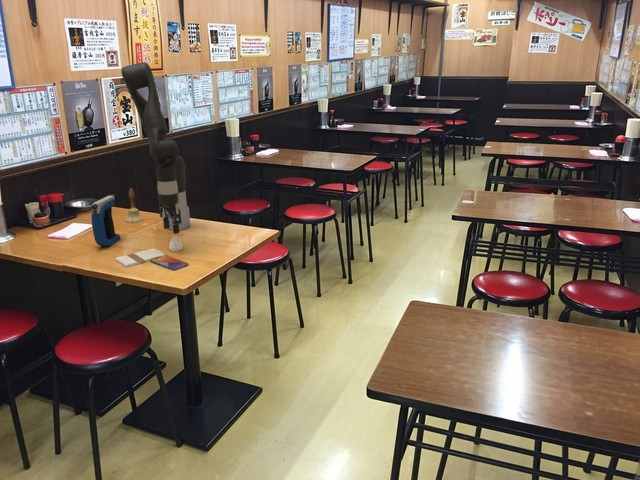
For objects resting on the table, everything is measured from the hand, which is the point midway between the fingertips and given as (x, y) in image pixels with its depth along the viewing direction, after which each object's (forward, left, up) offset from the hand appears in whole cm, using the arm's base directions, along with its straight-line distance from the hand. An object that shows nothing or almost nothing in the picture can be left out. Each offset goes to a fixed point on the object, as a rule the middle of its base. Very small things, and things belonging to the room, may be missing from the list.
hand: (171, 231), depth 208 cm
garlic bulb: (-1, 0, -8) cm, 8 cm away
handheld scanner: (+16, -26, -8) cm, 31 cm away
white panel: (+14, 0, -8) cm, 16 cm away
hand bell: (-6, -51, -8) cm, 52 cm away
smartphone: (+8, +12, -9) cm, 17 cm away
